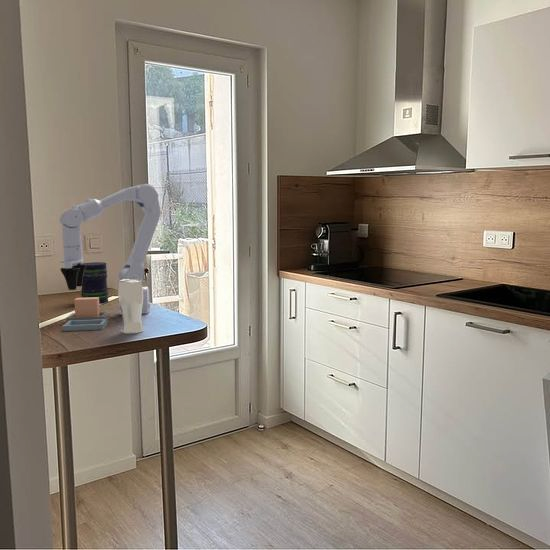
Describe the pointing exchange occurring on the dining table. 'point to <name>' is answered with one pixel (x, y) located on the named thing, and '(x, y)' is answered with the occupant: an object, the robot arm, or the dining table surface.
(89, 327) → the grey picture frame
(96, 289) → the storage jar
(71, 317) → the grey rectangular open frame
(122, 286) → the beer glass
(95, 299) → the terracotta block
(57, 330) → the dining table surface
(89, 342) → the dining table surface
